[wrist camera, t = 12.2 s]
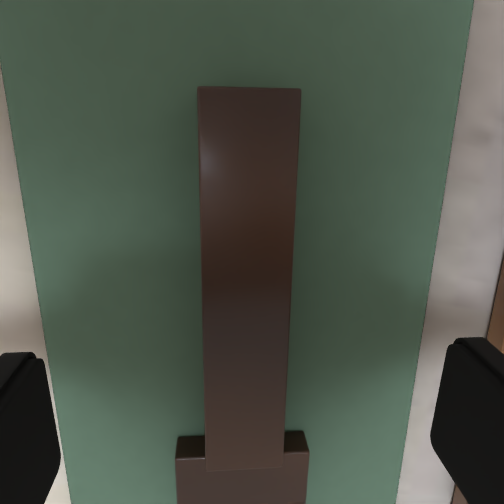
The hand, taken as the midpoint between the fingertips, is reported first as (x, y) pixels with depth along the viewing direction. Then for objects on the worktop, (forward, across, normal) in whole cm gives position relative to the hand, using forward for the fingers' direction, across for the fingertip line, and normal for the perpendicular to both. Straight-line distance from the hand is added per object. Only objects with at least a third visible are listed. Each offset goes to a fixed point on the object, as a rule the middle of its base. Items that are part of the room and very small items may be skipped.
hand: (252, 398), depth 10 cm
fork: (+4, 0, +2) cm, 4 cm away
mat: (+4, 0, +1) cm, 4 cm away
